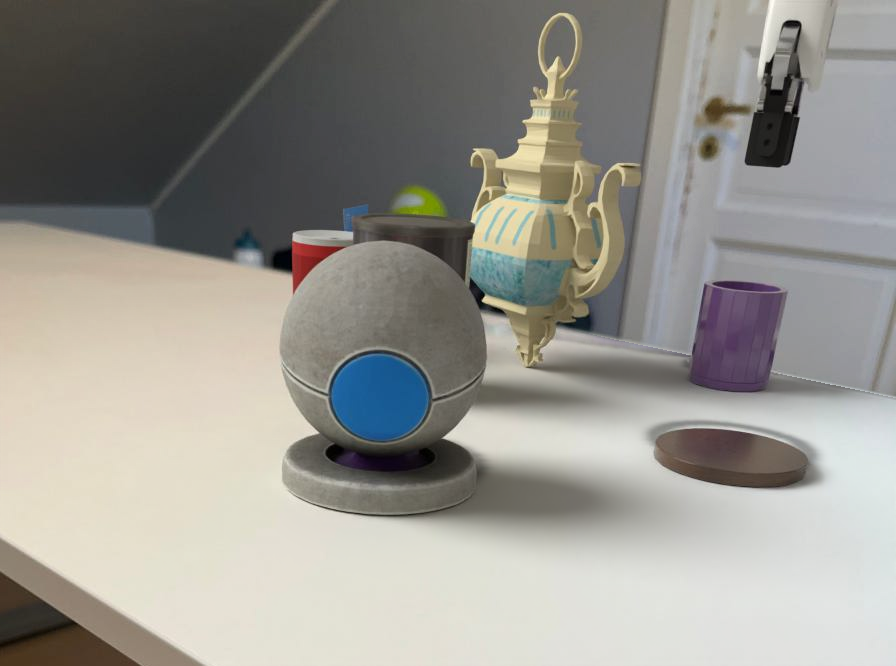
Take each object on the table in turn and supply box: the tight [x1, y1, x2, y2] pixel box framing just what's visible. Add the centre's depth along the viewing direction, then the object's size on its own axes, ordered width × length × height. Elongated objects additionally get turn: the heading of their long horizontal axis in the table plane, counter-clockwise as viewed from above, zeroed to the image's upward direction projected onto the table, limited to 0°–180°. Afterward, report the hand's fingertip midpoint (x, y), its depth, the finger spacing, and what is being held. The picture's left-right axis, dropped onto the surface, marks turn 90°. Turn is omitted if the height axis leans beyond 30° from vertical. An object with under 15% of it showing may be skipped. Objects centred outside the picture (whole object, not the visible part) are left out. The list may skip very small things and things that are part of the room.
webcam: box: [279, 241, 488, 516], centre depth 62 cm, size 13×13×15 cm
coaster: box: [653, 427, 809, 488], centre depth 72 cm, size 11×11×1 cm
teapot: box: [469, 12, 642, 368], centre depth 90 cm, size 24×12×30 cm, turn 29°
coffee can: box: [352, 212, 475, 289], centre depth 84 cm, size 10×10×14 cm
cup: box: [687, 279, 790, 393], centre depth 94 cm, size 8×8×9 cm
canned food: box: [291, 229, 353, 296], centre depth 98 cm, size 8×8×11 cm
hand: (767, 165), depth 87 cm, fingers open, 9 cm apart
